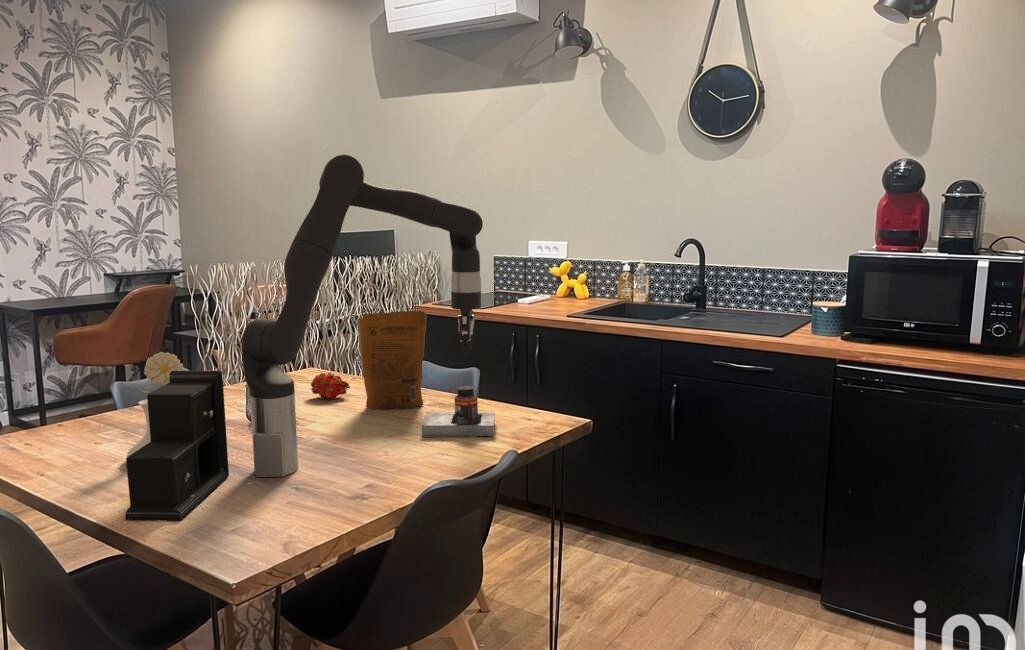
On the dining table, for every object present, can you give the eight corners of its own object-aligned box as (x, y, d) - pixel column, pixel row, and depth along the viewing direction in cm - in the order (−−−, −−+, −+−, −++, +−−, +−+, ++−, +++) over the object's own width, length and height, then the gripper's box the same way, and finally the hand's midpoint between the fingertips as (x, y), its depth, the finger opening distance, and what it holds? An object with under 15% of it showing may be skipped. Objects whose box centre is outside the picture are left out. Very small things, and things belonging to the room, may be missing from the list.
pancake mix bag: (428, 409, 216) (426, 312, 212) (360, 411, 214) (356, 313, 210) (428, 403, 223) (426, 308, 218) (362, 405, 221) (358, 309, 216)
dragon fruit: (309, 401, 231) (347, 408, 230) (302, 391, 224) (341, 398, 222) (318, 376, 235) (355, 383, 234) (311, 365, 227) (350, 372, 226)
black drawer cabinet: (181, 522, 140) (172, 397, 137) (123, 521, 141) (113, 397, 137) (230, 477, 163) (223, 369, 160) (180, 476, 164) (172, 369, 160)
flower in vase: (122, 470, 167) (112, 358, 163) (132, 454, 178) (124, 349, 174) (186, 465, 170) (178, 355, 166) (192, 449, 181) (185, 346, 177)
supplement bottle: (479, 427, 199) (479, 384, 198) (476, 433, 194) (475, 390, 192) (457, 426, 200) (456, 384, 198) (453, 433, 194) (452, 390, 192)
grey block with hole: (493, 437, 191) (493, 425, 190) (421, 437, 191) (421, 425, 190) (494, 423, 203) (494, 412, 202) (426, 423, 203) (426, 412, 202)
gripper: (479, 292, 184) (480, 358, 186) (482, 286, 198) (482, 348, 201) (448, 292, 184) (449, 358, 186) (453, 286, 198) (454, 348, 201)
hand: (466, 353), depth 193 cm, fingers open, 8 cm apart
